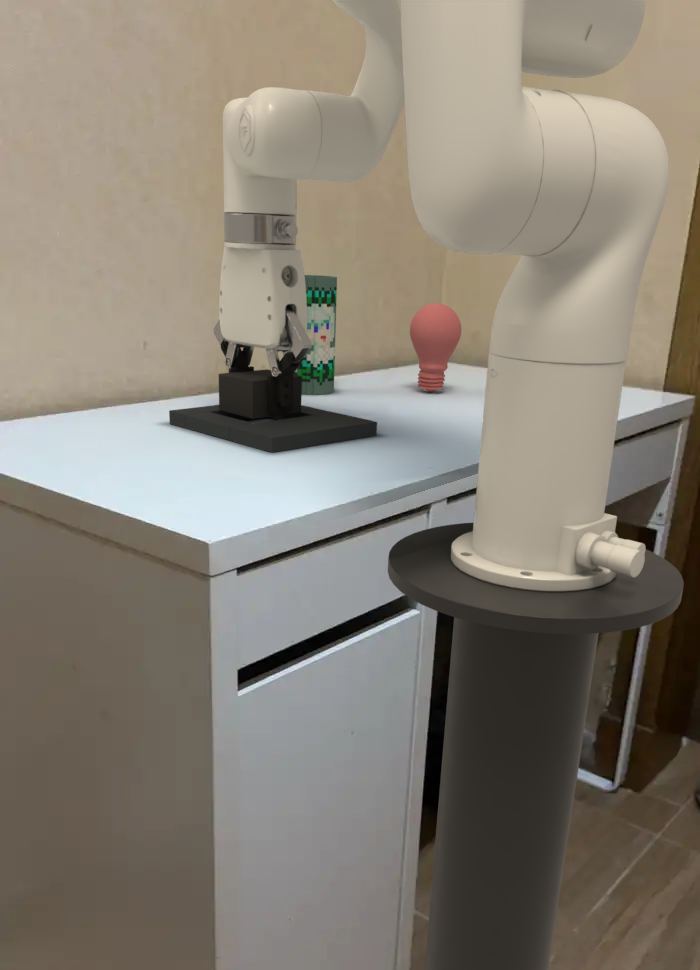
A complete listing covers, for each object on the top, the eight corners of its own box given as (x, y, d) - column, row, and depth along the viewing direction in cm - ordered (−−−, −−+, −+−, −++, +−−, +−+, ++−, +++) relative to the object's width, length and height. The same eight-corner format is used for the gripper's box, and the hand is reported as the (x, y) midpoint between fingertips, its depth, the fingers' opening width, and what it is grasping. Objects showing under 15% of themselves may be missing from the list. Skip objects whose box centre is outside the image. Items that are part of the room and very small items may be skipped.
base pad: (376, 435, 103) (377, 421, 103) (272, 452, 93) (272, 437, 93) (272, 410, 115) (272, 398, 114) (169, 423, 105) (168, 410, 104)
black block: (301, 412, 105) (302, 376, 104) (252, 418, 101) (252, 381, 99) (267, 404, 109) (267, 369, 107) (218, 410, 104) (218, 373, 103)
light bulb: (451, 398, 129) (458, 306, 124) (401, 393, 130) (406, 303, 126) (460, 390, 135) (467, 303, 130) (412, 386, 137) (417, 300, 132)
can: (300, 395, 126) (302, 277, 121) (282, 388, 131) (283, 274, 126) (340, 393, 129) (344, 277, 123) (321, 386, 134) (323, 275, 128)
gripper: (343, 237, 94) (337, 416, 101) (237, 232, 106) (239, 394, 113) (286, 235, 90) (285, 424, 97) (182, 230, 101) (187, 399, 108)
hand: (260, 406), depth 105 cm, fingers closed on black block, 6 cm apart
